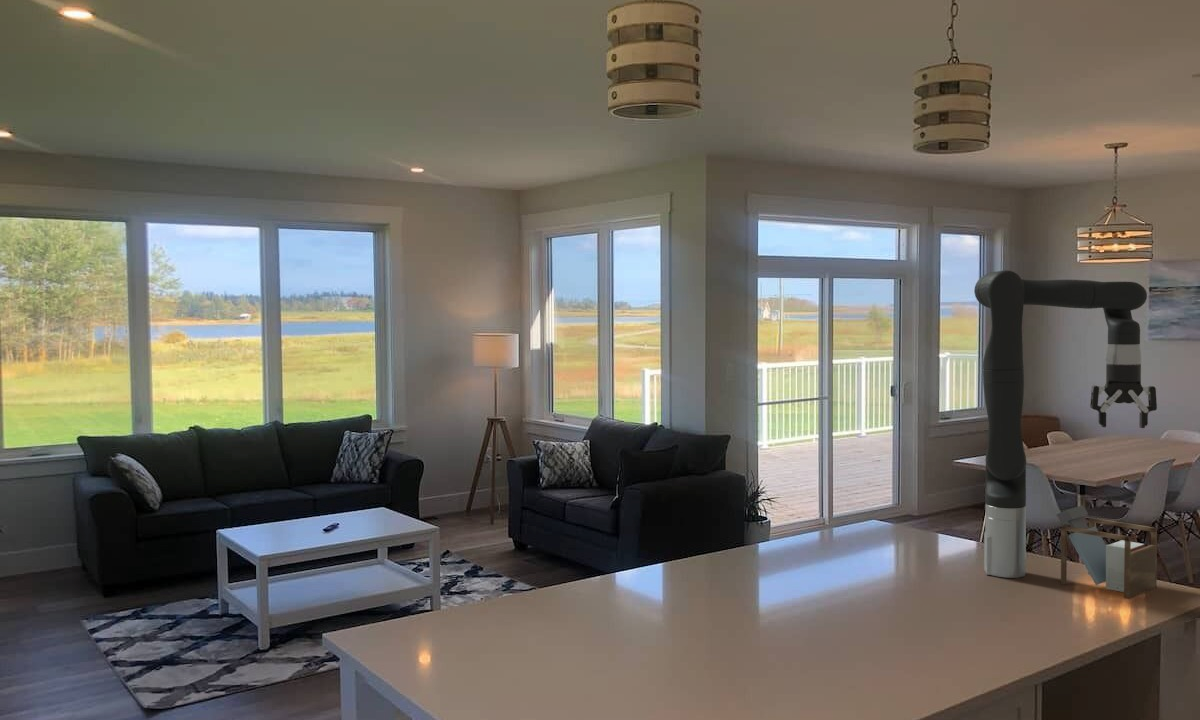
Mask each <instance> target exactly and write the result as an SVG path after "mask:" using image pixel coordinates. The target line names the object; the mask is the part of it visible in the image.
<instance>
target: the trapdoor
mask: <svg viewBox="0 0 1200 720" xmlns="http://www.w3.org/2000/svg"><path fill="white" fill-rule="evenodd" d="M1086 509H1087V508H1085V506H1084V504H1082V505H1079V506H1075V507H1072V508H1068V509H1065V510H1063V511H1061V512H1059V513H1056V517H1057V518H1058V520H1059V522H1060V524H1061V525H1064V524H1066V523H1068V525H1069V527H1075V528H1081V529H1087V530H1093V531H1099V530H1098V528H1097V526H1094V527H1092V528H1089V524H1088V523H1087V522H1086V520H1085V518H1084V517H1086V516H1088V515H1089V513H1088V511H1087V510H1086ZM1067 537H1068V538H1069V540H1070V542H1071V543H1072V545H1073V547H1074V548H1075V551H1076V552H1077V554H1078V556H1079V557H1080V560H1081V562H1082V563H1083V565H1084V567H1085V569H1086V570H1087V572H1089V574H1088V575H1089V576H1090V577H1091V579H1092V581H1093V582H1094V584H1095V586H1098V585H1100V584H1102V583H1106V545H1107V544H1106V542H1105V541H1104V539H1103V537H1100V536H1095V535H1089V534H1083V533H1077V532H1072V533H1070V534H1067Z"/></svg>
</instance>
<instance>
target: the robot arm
mask: <svg viewBox="0 0 1200 720" xmlns="http://www.w3.org/2000/svg"><path fill="white" fill-rule="evenodd" d="M1147 293H1148V292H1147V290H1146V289H1145V287H1144V286H1143V285H1141V284H1140V283H1138V282H1135V281H1100V280H1099V281H1097V280H1089V279H1087V280H1086V279H1046V280H1045V279H1044V280H1042V279H1040V280H1039V279H1038V280H1037V279H1036V280H1035V279H1024V278H1022V277H1021V276H1020V275H1019V274H1018V273H1017V272H1015V271H1012V270H1007V269H1006V270H1005V269H1003V270H999V271H993V272H988V273H985V274H984V275H983V276H981V277H980V278H979V279H978V280H977V282H976V283H975V286H974V296H975V298H976V301H978V303H979V304H980V305H982V306H983V307H986V308H988V309H990V318H991V321H990V322H991V327H990V328H991V329H990V335H989V339H988V343H987V344H986V349H985V352H984V355H983V361H982V378H983V379H982V381H983V383H982V384H983V394H984V401H985V409H986V413H987V421H988V435H987V448H986V451H985V452H986V453H985V460H984V461H985V491H984V492H985V493H984V494H985V496H984V497H985V509H984V510H985V516H984V517H985V519H984V521H985V522H984V523H985V524H984V525H985V526H984V527H985V530H984V533H983V535H984V538H983V539H984V541H983V547H984V548H983V549H984V550H983V551H984V552H983V559H984V560H983V562H984V563H983V569H984V572H985V574H986V575H988V576H993V577H1000V578H1005V579H1006V578H1008V579H1009V578H1011V579H1013V578H1014V579H1015V578H1023V577H1024V576H1026V562H1027V561H1026V557H1027V556H1026V553H1027V552H1026V549H1027V548H1026V547H1027V546H1026V545H1027V543H1026V541H1027V540H1026V538H1027V536H1026V532H1027V528H1026V526H1027V524H1026V523H1027V518H1026V517H1027V488H1026V487H1027V485H1026V484H1027V481H1026V477H1027V474H1026V473H1027V470H1026V469H1027V455H1026V452H1025V449H1024V442H1023V441H1024V440H1023V434H1022V432H1023V431H1022V414H1023V406H1024V394H1025V377H1024V376H1025V373H1024V372H1025V371H1024V369H1025V368H1024V352H1023V351H1024V348H1023V346H1024V345H1023V316H1024V314H1023V313H1024V305H1025V306H1027V305H1028V306H1029V305H1030V306H1047V307H1056V308H1057V307H1058V308H1069V309H1083V310H1085V309H1086V310H1087V309H1088V310H1089V309H1102V310H1103V314H1104V319H1105V322H1106V325H1107V347H1106V355H1105V356H1106V357H1105V362H1106V365H1105V367H1106V368H1105V370H1106V371H1105V373H1106V374H1105V377H1106V379H1105V381H1106V382H1105V385H1104V386H1100V385H1094V384H1093V385H1092V386H1091V390H1090V391H1091V393H1090V395H1091V396H1090V409H1091V410H1094V411H1097V412H1098V424H1099V425H1100V426H1101V428H1106V427H1107V410H1108V409H1109V408H1110V406H1112V405H1113V404H1114V403H1116V404H1123V403H1124V404H1134V405H1135V407H1137V408H1138V410H1139V411H1140V412H1139V428H1140V429H1145V428H1146V427H1147V426H1148V423H1149V422H1148V421H1149V413H1150V412H1153V411H1157V410H1158V404H1157V388H1156V387H1155V386H1154V385H1148V386H1143V385H1142V350H1141V326H1140V323H1139V322H1137V321H1136V320H1135V319H1133V315H1132V311H1134V310H1137V309H1139V308H1141V307H1142V306H1143V305H1145V303H1146V301H1147V298H1148V294H1147ZM1103 392H1105V394H1106V395H1107V397H1106V398H1105V400H1103V401H1102V403H1101V405H1099V396H1100V395H1101V394H1102V393H1103ZM1143 392H1144V394H1145V395H1147V400H1148V402H1147V403H1148V405H1147V406H1146V405H1145V403H1144V402H1143V401H1142V400H1141V398H1140V397H1139V396H1140V395H1141V394H1142V393H1143Z"/></svg>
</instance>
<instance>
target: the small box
mask: <svg viewBox="0 0 1200 720" xmlns="http://www.w3.org/2000/svg"><path fill="white" fill-rule="evenodd" d="M1143 547H1146V544H1145V543H1140V542H1134V541H1131V552H1132V551H1135V550H1138V549H1140V548H1143ZM1124 555H1125V541H1124V540H1118V541H1116V542H1115V541H1114V542H1112V543H1110V544H1106V582H1105V589H1106V590H1111V591H1116V592H1121V593H1124Z"/></svg>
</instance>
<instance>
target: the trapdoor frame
mask: <svg viewBox="0 0 1200 720" xmlns="http://www.w3.org/2000/svg"><path fill="white" fill-rule="evenodd" d="M1095 523H1096V524H1102V525H1108V526H1115V527H1121V528H1127V529H1133V530H1140V531H1145V532H1150V534H1151V535H1150V544H1149V545H1147V546H1146V545H1145V547H1143V548H1140V549H1138V550H1135V551H1132V552H1131V542H1132V541H1131V540H1132V538H1131V536H1129V535H1128V536H1127V535H1122V534H1116V533H1110V532H1104V531H1099V530H1098V531H1093V530H1087V529H1081V528H1075V527H1071V526H1070V525H1069V526H1068V525H1061V526H1060V537H1061V538H1060V539H1061V540H1060V585H1064V586H1066V585H1068V584H1067V580H1068V577H1067V574H1068V573H1067V566H1068V565H1067V562H1068V561H1067V558H1068V557H1067V556H1068V555H1067V554H1068V548H1067V546H1068V532H1072V533H1074V532H1077V533H1083V534H1089V535H1095V536H1100V537H1102V538H1107V539H1113V540H1118V541H1120V540H1124V541H1125V555H1124V592H1123V597H1124V599H1131V598H1134V597H1136V596H1138V595H1140V594H1143V593H1145V592H1148V591H1149V590H1150V591H1151V590H1152V589H1155V588H1157V583H1158V582H1157V579H1158V578H1157V576H1158V575H1157V574H1158V573H1157V571H1158V568H1157V567H1158V563H1157V562H1158V560H1157V559H1158V555H1157V554H1158V527H1154V526H1147V525H1141V524H1135V523H1129V522H1121V521H1116V520H1110V519H1109V520H1108V519H1103V518H1095V517H1089V518H1088V527H1089V528H1092V527H1095ZM1087 572H1088V571H1087ZM1088 575H1090V574H1089V572H1088Z"/></svg>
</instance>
